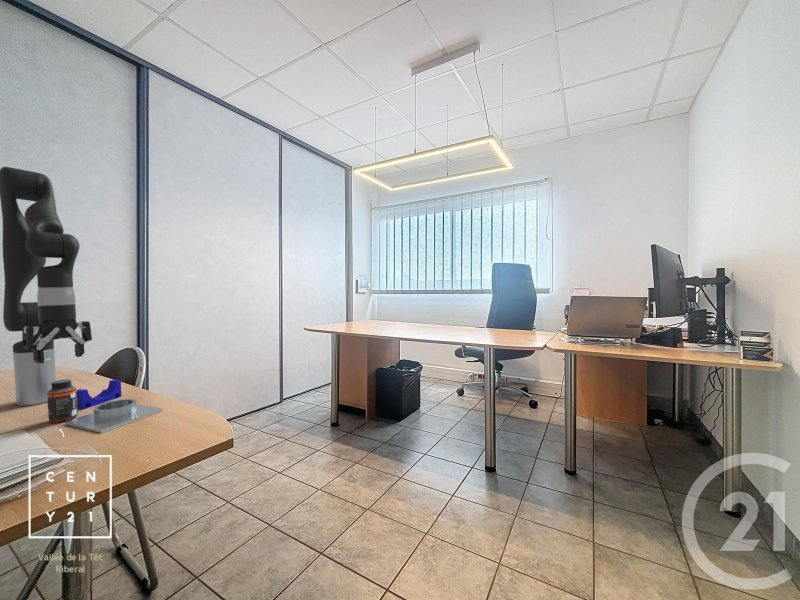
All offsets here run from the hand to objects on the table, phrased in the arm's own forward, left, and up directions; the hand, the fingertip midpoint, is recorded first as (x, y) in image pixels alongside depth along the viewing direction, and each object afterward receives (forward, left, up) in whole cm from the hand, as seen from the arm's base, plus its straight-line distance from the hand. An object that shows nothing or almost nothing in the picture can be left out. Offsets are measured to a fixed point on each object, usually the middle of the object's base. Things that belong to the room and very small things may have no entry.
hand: (60, 359), depth 96 cm
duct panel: (+13, +6, -18) cm, 23 cm away
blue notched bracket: (-7, +12, -18) cm, 23 cm away
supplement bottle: (0, 0, -18) cm, 18 cm away
